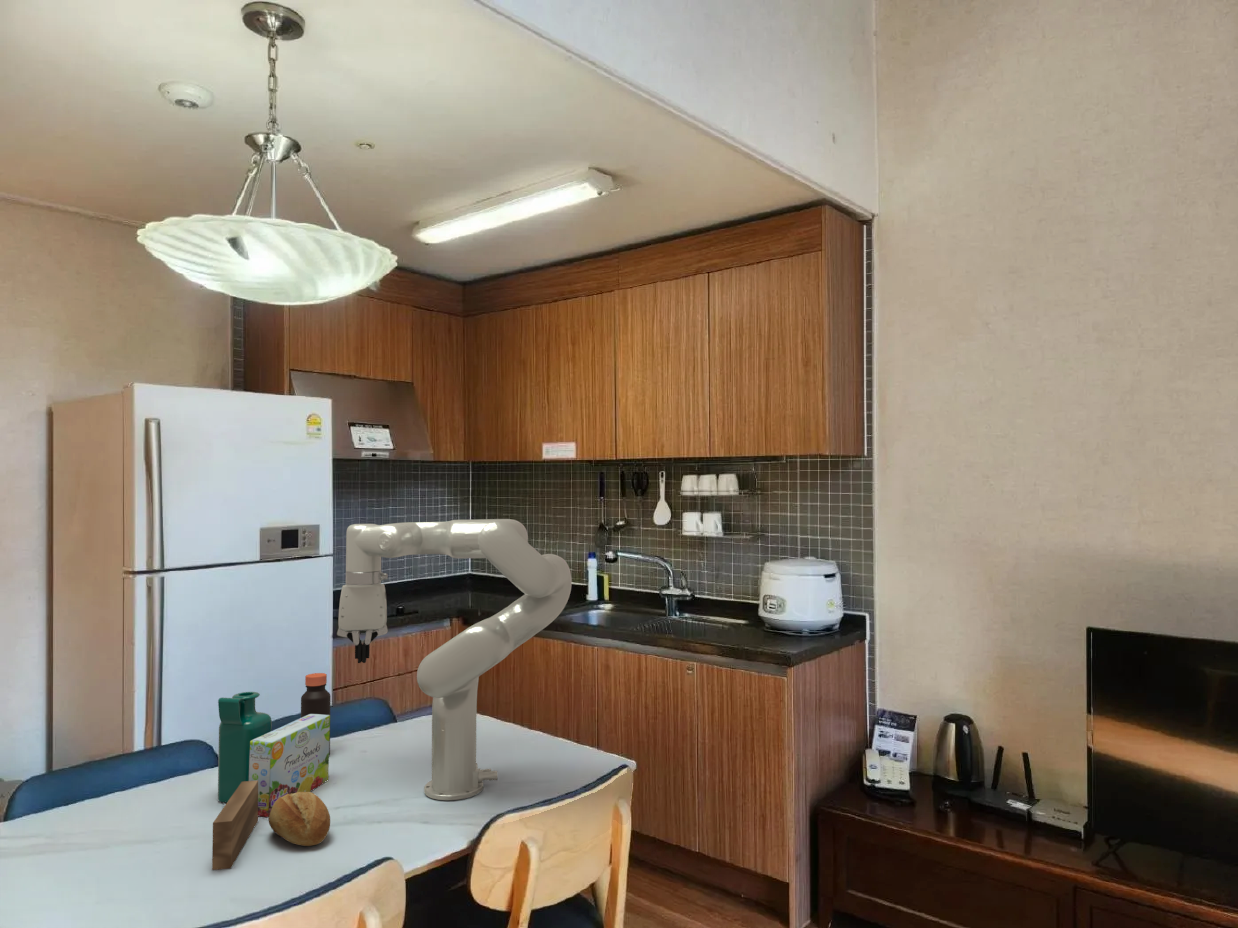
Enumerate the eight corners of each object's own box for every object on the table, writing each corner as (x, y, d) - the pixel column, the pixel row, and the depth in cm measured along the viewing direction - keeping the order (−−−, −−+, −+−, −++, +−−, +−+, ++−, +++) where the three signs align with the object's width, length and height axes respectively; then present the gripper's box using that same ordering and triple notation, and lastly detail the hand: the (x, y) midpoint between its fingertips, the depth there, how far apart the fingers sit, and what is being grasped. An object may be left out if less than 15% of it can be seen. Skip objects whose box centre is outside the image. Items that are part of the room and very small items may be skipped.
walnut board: (257, 821, 155) (258, 780, 156) (231, 868, 136) (231, 820, 136) (241, 822, 155) (241, 781, 155) (212, 869, 135) (212, 822, 136)
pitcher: (240, 787, 173) (241, 686, 174) (274, 790, 172) (276, 688, 173) (208, 805, 164) (210, 698, 165) (244, 808, 162) (246, 700, 163)
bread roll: (291, 859, 139) (291, 813, 140) (256, 834, 150) (257, 791, 150) (342, 841, 146) (342, 797, 147) (305, 819, 157) (306, 778, 157)
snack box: (271, 818, 157) (272, 741, 158) (246, 816, 158) (247, 740, 159) (330, 780, 178) (331, 713, 178) (308, 778, 179) (308, 711, 180)
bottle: (294, 758, 193) (295, 675, 193) (319, 750, 198) (319, 670, 199) (311, 763, 189) (312, 679, 190) (335, 755, 194) (336, 674, 195)
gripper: (398, 576, 182) (397, 656, 181) (330, 578, 178) (328, 659, 178) (397, 580, 174) (396, 663, 174) (325, 581, 171) (324, 667, 170)
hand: (362, 661), depth 176 cm, fingers closed
